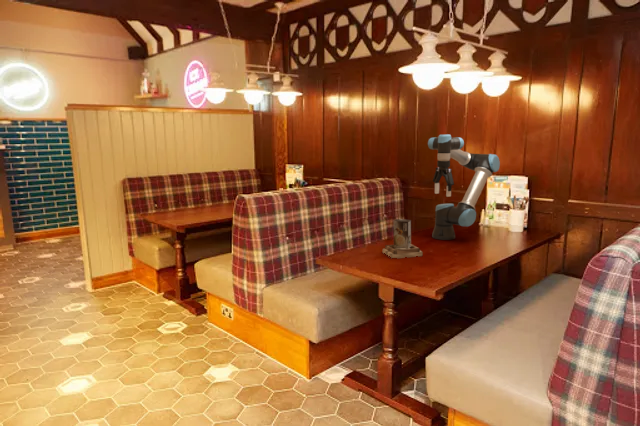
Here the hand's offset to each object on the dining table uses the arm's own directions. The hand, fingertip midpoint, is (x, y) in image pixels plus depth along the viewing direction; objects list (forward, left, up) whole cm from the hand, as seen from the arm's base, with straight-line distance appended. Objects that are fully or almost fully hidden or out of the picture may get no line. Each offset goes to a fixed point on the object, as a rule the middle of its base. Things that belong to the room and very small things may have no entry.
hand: (442, 195), depth 267 cm
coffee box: (+9, -31, -28) cm, 43 cm away
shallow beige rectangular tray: (+9, -31, -33) cm, 46 cm away
